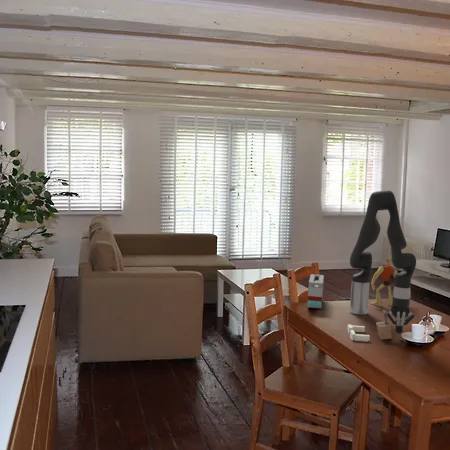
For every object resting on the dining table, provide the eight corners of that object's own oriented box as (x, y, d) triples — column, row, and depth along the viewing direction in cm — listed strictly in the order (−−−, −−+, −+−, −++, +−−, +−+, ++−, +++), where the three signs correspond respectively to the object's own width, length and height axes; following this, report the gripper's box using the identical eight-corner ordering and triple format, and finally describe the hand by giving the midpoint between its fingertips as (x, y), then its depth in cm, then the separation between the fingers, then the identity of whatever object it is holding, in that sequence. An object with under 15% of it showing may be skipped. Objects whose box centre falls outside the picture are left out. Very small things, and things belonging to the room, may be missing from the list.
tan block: (377, 334, 252) (374, 310, 251) (388, 333, 252) (385, 309, 251) (380, 339, 245) (377, 314, 244) (391, 338, 245) (388, 313, 244)
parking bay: (347, 330, 257) (347, 323, 257) (364, 331, 257) (364, 324, 256) (351, 340, 243) (352, 333, 242) (369, 341, 242) (369, 334, 242)
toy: (403, 302, 316) (407, 251, 312) (410, 306, 307) (414, 254, 304) (366, 302, 312) (369, 251, 308) (372, 306, 303) (376, 254, 300)
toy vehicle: (323, 297, 320) (324, 272, 319) (321, 310, 291) (323, 283, 289) (309, 296, 322) (310, 271, 320) (306, 309, 293) (308, 282, 291)
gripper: (414, 295, 249) (411, 331, 251) (385, 293, 250) (382, 329, 252) (418, 299, 242) (415, 336, 244) (388, 297, 243) (385, 334, 245)
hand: (398, 333), depth 248 cm, fingers closed
